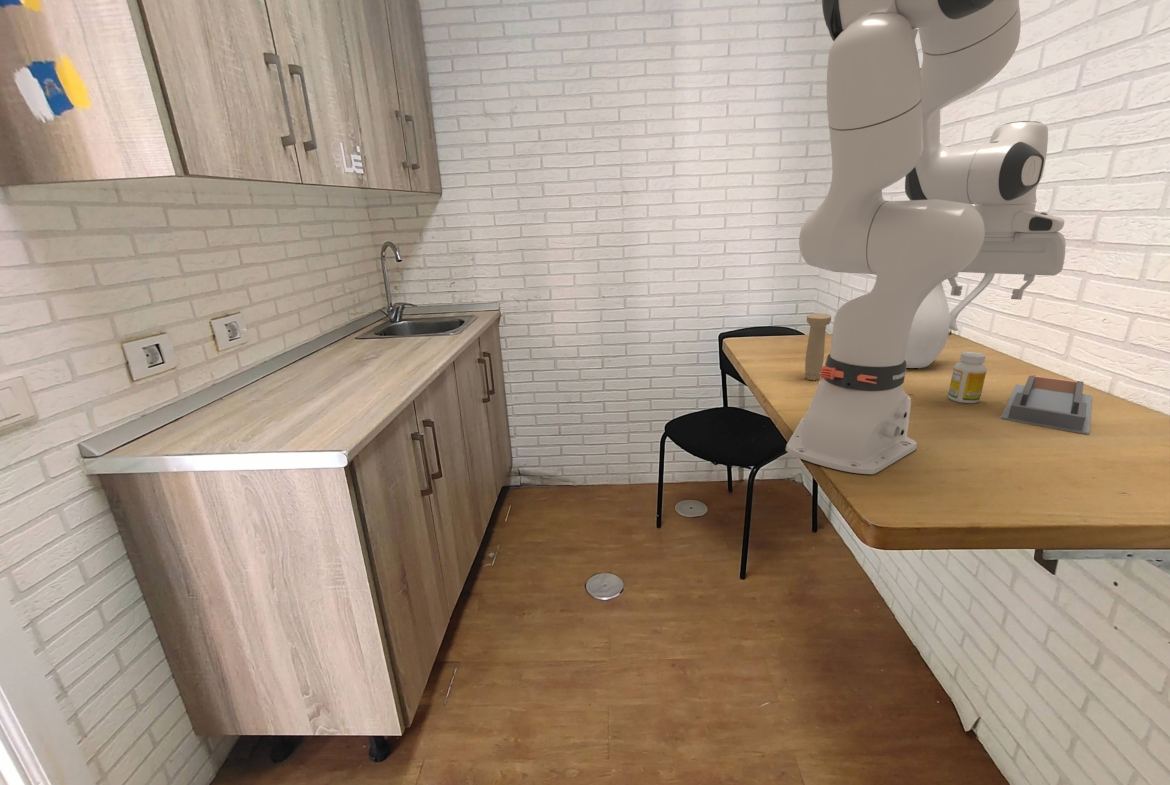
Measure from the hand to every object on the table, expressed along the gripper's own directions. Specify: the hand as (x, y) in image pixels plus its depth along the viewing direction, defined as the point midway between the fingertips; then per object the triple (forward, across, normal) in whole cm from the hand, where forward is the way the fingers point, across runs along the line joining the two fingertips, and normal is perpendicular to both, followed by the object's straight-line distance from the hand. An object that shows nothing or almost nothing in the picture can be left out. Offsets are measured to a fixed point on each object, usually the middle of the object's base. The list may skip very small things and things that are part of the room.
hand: (985, 297), depth 100 cm
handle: (+21, -29, -4) cm, 36 cm away
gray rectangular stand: (+21, +13, +4) cm, 25 cm away
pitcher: (+21, -13, +23) cm, 34 cm away
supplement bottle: (+21, 0, 0) cm, 21 cm away
